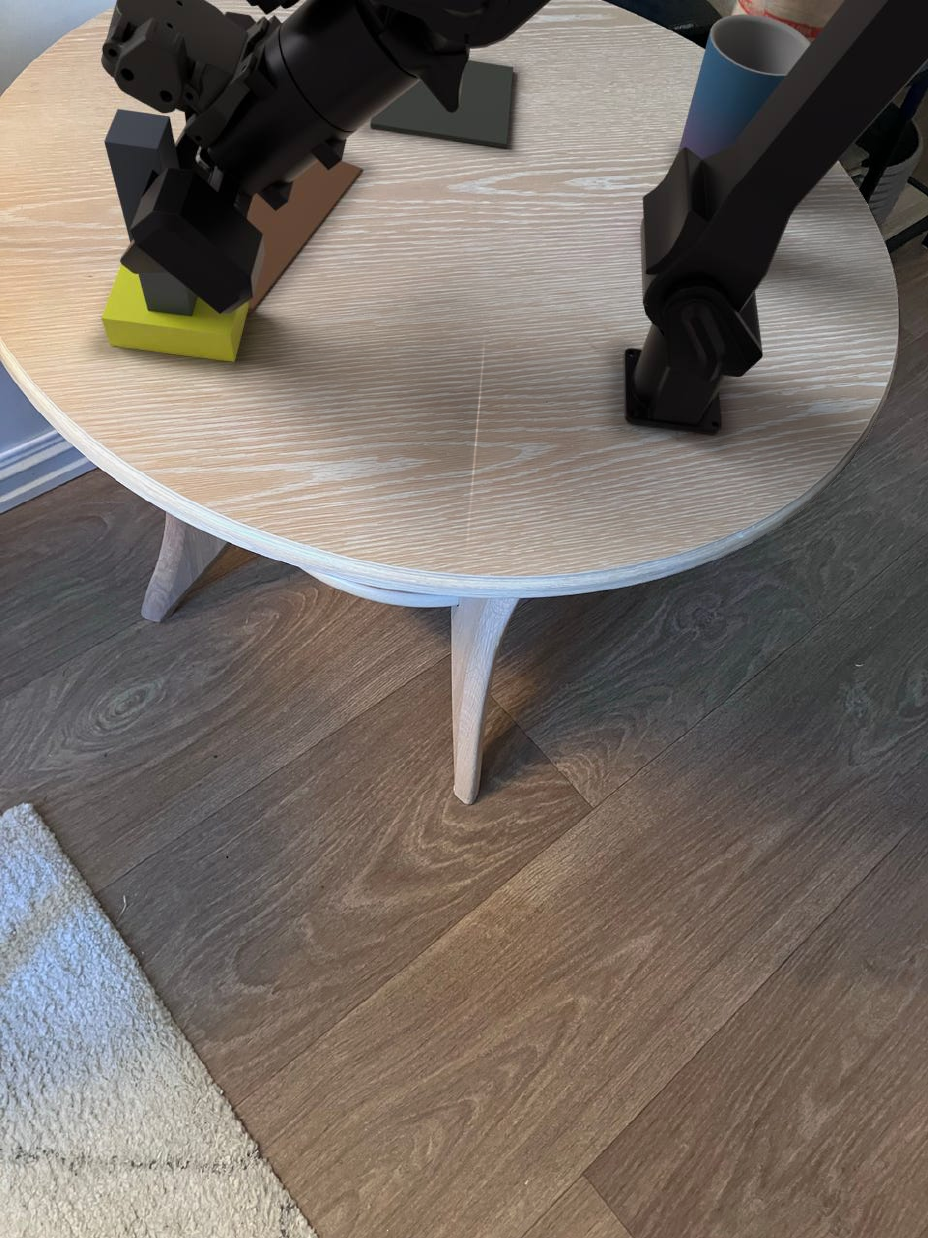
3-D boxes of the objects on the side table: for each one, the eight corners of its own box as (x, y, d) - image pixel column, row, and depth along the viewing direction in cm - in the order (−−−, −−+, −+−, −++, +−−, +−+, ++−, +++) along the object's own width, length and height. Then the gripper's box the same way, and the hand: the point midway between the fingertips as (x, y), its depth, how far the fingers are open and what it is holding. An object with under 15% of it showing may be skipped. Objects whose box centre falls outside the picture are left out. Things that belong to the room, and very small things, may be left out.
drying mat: (506, 148, 75) (507, 143, 75) (370, 127, 74) (370, 123, 74) (512, 71, 81) (513, 66, 80) (386, 51, 80) (386, 46, 80)
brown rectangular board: (249, 316, 63) (248, 313, 63) (156, 280, 63) (155, 278, 63) (362, 170, 72) (362, 167, 72) (279, 140, 72) (279, 138, 72)
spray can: (661, 147, 78) (753, -141, 60) (743, 133, 80) (853, -148, 63) (712, 211, 74) (825, -75, 57) (796, 195, 76) (929, -85, 59)
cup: (728, 222, 74) (810, 23, 61) (732, 280, 70) (820, 83, 57) (643, 208, 73) (708, 5, 60) (643, 266, 70) (712, 64, 57)
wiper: (234, 362, 60) (203, 169, 48) (109, 345, 60) (46, 147, 48) (249, 306, 63) (223, 109, 51) (129, 291, 62) (73, 88, 50)
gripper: (232, -165, 46) (62, 32, 55) (138, 44, 37) (-48, 241, 45) (385, 27, 53) (213, 173, 62) (340, 242, 44) (145, 379, 53)
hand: (139, 232), depth 55 cm, fingers open, 6 cm apart
